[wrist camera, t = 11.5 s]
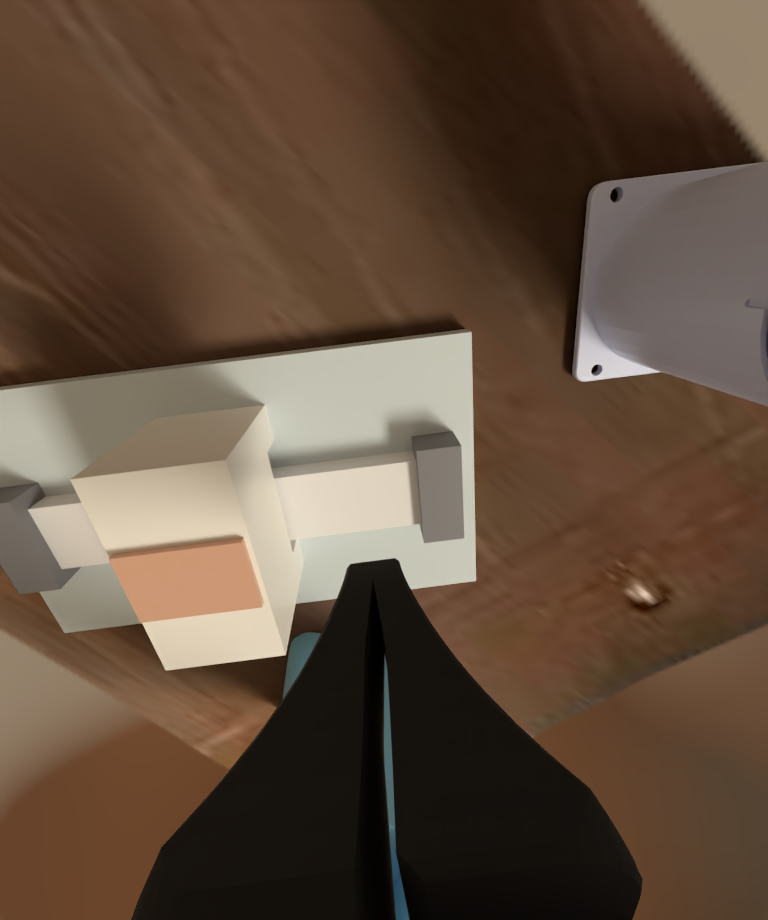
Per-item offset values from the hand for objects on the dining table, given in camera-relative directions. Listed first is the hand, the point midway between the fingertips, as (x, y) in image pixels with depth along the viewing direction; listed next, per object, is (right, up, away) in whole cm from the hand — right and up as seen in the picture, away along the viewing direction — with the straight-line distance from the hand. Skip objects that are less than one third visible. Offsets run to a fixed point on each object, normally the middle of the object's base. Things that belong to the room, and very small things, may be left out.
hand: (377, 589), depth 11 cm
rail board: (-7, +2, +10) cm, 13 cm away
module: (-7, +2, +9) cm, 12 cm away
